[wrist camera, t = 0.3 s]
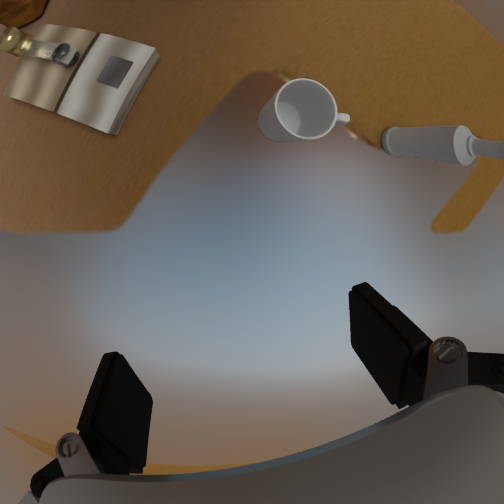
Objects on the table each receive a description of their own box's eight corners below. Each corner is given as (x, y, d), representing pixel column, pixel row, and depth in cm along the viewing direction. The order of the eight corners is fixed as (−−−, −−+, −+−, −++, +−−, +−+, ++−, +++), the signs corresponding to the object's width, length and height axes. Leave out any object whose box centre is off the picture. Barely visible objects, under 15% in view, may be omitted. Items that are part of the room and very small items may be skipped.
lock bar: (84, 49, 23) (58, 30, 16) (71, 71, 24) (42, 56, 17) (33, 40, 20) (6, 25, 12) (22, 59, 21) (-7, 48, 13)
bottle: (406, 151, 40) (527, 169, 16) (385, 160, 40) (512, 183, 16) (397, 123, 38) (520, 124, 14) (376, 131, 38) (505, 133, 15)
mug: (253, 141, 36) (272, 135, 25) (256, 96, 34) (276, 73, 23) (320, 148, 38) (361, 148, 27) (323, 106, 36) (364, 92, 24)
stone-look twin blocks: (15, 96, 26) (0, 94, 22) (51, 30, 23) (39, 22, 18) (117, 135, 33) (106, 133, 28) (160, 57, 30) (155, 46, 25)
